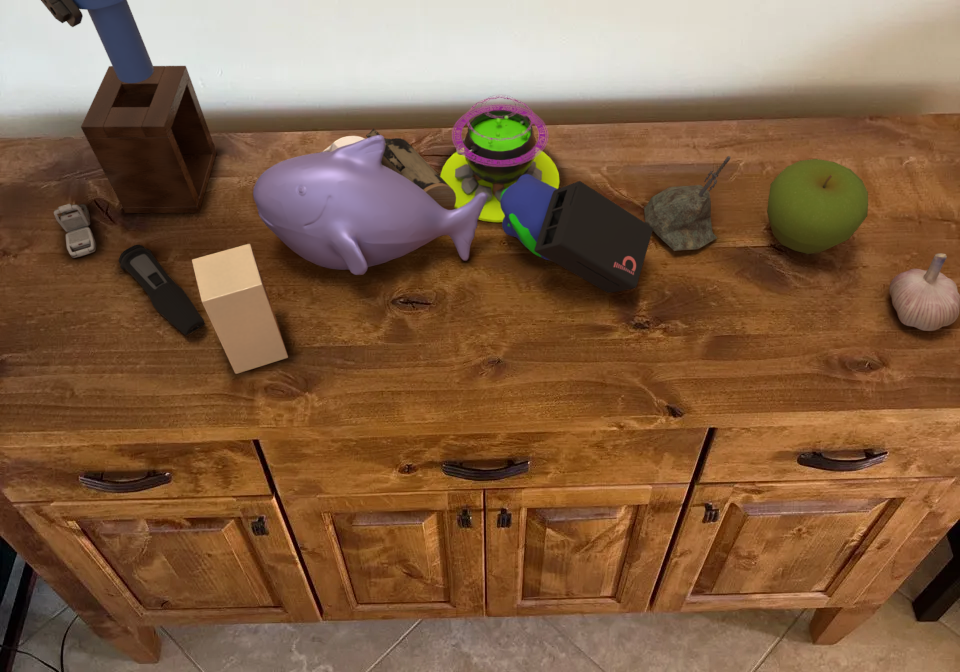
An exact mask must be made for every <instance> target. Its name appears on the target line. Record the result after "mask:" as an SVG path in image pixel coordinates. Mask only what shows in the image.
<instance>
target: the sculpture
mask: <svg viewBox="0 0 960 672" xmlns="http://www.w3.org/2000/svg"><path fill="white" fill-rule="evenodd" d="M554 190H557V189H556V188H554V187H552V186H550V185H549V184H547V183H544V182H542V181H540V180H538V179H536V178H535V177H533V176H531V175H529V174H525V175H522V176H521V177H520V178H519V179H518V180H517V182H516V183H514V184H512V185H511V186H509V187H508V188H506V189H505V190H504V191H502V193H501V197H500V200H501V203H500V205H501V209H502V211H503V213H504V215H505V217H504V219H503V222H501V227H502V230H503V232H504V234H506V236H510V237H513V238H517V240H518V241H519V242H520V243H521V244H522V245H523V246H524V247H525V249H527V250H529V252H530V253H532V254H533V255H535V256H537V257H539V258H541V259H543V260H546V261H550V260H549V259H547V258H545V257H544V256H542V255H540V254H538V253H537V252H535V251H534V249H535V246H536V243H537V240H538V237H539V234H540V231H541V227H542V224H543V221H544V218H545V215H546V212H547V209H548V206H549V203H550V200H551V197H552V194H553V191H554Z"/></svg>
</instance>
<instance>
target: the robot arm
mask: <svg viewBox="0 0 960 672" xmlns="http://www.w3.org/2000/svg"><path fill="white" fill-rule="evenodd" d="M40 2H41V3H42V4H43V5H44V6H45V8H46V9H47V10H48V11H49V12H50V14H51V15H52V16H53V18H54V19H55V20H57V21H58V22H59V23H61V24H64V23H67V24H68V25H69V26H70V27H71V28H74V27H76V26H78V25H80V24H82V20H83V18H84V17H83V13H82V11H81V9H79V8H78V7H77V6H76V4H75V3H74V2H73V0H40Z"/></svg>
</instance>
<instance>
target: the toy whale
mask: <svg viewBox="0 0 960 672" xmlns="http://www.w3.org/2000/svg"><path fill="white" fill-rule="evenodd" d="M384 138H385V136H384V135H382V134H380V135H376V136H372V137H370V138H367V137H366V138H365V139H363V140H361V141H358V142H355V143H353V144H349V145H345V146H342V147H339V148H337V149H336V150H334V151H332V152H323V151H321V152H314V153H307V154H303V155H299V156H294V157H291V158H287V159H284V160H282V161H279V162H277V163H275V164H273V165H271V166H270V167H269V168H267V169H265V170H264V171H263V172H262V173H261V174H260V176H259V177H257V180H256V182H255V184H254V187H253V191H252V197H253V201H254V203H255V205H256V208H257V215H258V217H259V218H260V220H261V221H262V222H263V224H264V225H265V226H266V227H267V228H268V229H269V230H270V231H271V232H272V233H273V234H274V235H275V236H276V237H277V238H278V239H279V240H280V241H281V242H282V243H283V245H285V246H286V247H288V248H289V249H290V250H291V251H292V252H294V253H295V254H296V255H298V256H299V257H301V258H303V259H304V260H306V261H308V262H310V263H312V264H314V265H316V266H318V267H322V268H326V269H330V270H331V269H332V270H338V271H339V270H344V271H345V270H347V271H350V273H351V274H353V275H355V276H361V275H364V274H366V272H367V271H368V269H369V267H374V266H378V265H381V264H384V263H388V262H390V261H392V260H396V259H399V258H402V257H404V256H406V255H408V254H410V253H412V252H414V251H417V250H418V249H420V248H421V247H423V246H425V245H427V244H429V243H430V242H432V241H434V240H435V239H437V238H439V237H443V236H448V237H450V238H451V241H452V242H453V244H454V246H455V249H456V251H457V254H458V255H459V257H460V259H461V260H462V261H465V262H466V261H468V260H469V258H470V253H471V246H472V242H473V240H474V239H475V233H476V230H477V228H478V221H479V220H478V218H479V216H480V214H481V211H482V209H483V207H484V205H485V203H486V200H487V197H488V196H487V194H486V193H484V192H482V193H479V194H478V195H476V196H475V197H474V198H473V199H472V200H471V201H470V202H469V203H467V204H466V205H464V206H462V207H460V208H457V209H455V208H453V210H447V209H444V208H443V207H441V206H440V205H439V204H438V203H437V202H436V201H435V200H434V199H432V198H431V197H430V196H429V195H428V194H427V193H426V192H425V191H424V190H423V189H421V188H420V187H419V186H417V185H416V184H414V183H413V182H411V181H410V180H408V179H407V178H405V177H404V176H402V175H400V174H398V173H397V172H395V171H393V170H391V169H389V168H388V167H386V166H383V165H382V164H381V161H382V157H383V154H384V151H385V139H384Z"/></svg>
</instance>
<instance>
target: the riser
mask: <svg viewBox="0 0 960 672" xmlns="http://www.w3.org/2000/svg"><path fill="white" fill-rule="evenodd" d="M191 263H192V267H193V271H194V276H195V281H196V285H197V288H198V292H199V297H200V301H201V303H202V306H203V308H204V310H205V312H206V314H207V316H208V319H209V321H210V323H211V326H212V327H213V329H214V331H215V334H216V336H217V338H218V340H219V342H220V344H221V346H222V348H223V349H222V350H223V351H224V353H225V355H226V357H227V359H228V362H229V364H230V366H231V368H232V370H233V372H234V374H235V375H237V374H240V373H244V372H247V371H251V370H253V369H257V368H260V367H263V366H266V365H269V364H273V363H276V362H279V361H282V360H286V359H288V358H289V355H288V352H287V348H286V346H285V342H284V338H283V335H282V332H281V329H280V326H279V322H278V319H277V316H276V313H275V311H274V308H273V305H272V302H271V299H270V296H269V294H268V291H267V288H266V286H265V282H264V280H263V277H262V273H261V271H260V268H259V266H258V262H257V260H256V257H255V254H254V251H253V249H252V245H251V243H247V244H246V243H245V244H243V245H240V246H236V247H232V248H228V249H224V250H221V251H217V252H214V253H211V254H207V255H203V256H200V257H196V258H193V259H191Z"/></svg>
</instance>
